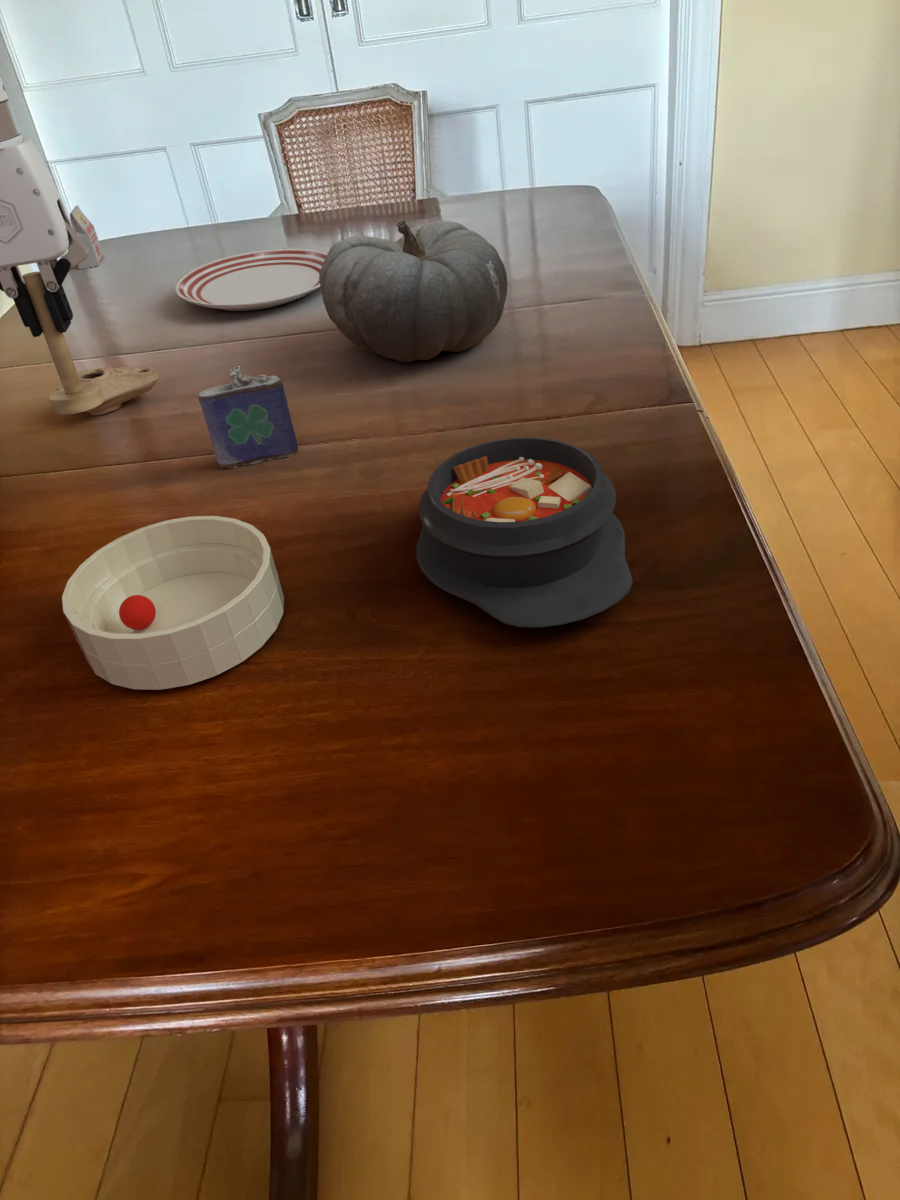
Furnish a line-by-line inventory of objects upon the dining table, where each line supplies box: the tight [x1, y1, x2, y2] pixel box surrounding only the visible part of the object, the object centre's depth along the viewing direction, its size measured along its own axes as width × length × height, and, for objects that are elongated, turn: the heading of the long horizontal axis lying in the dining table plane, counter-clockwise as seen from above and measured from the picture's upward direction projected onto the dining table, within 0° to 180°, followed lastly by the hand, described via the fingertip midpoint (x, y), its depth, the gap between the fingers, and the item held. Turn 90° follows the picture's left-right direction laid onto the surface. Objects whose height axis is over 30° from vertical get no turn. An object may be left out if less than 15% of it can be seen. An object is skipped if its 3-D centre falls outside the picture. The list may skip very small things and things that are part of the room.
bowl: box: [61, 515, 285, 691], centre depth 77 cm, size 17×17×6 cm
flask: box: [197, 365, 299, 469], centre depth 99 cm, size 9×3×11 cm, turn 102°
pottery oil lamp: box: [55, 366, 160, 416], centre depth 117 cm, size 9×12×7 cm
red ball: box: [119, 595, 156, 630], centre depth 77 cm, size 3×3×3 cm
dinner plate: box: [174, 248, 328, 312], centre depth 149 cm, size 28×27×3 cm
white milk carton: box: [69, 204, 105, 270], centre depth 173 cm, size 4×7×10 cm, turn 9°
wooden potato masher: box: [22, 271, 104, 416], centre depth 91 cm, size 5×5×14 cm
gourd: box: [319, 218, 508, 363], centre depth 120 cm, size 25×25×17 cm
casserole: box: [415, 437, 634, 629], centre depth 78 cm, size 25×19×8 cm
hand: (52, 328), depth 91 cm, fingers closed on wooden potato masher
